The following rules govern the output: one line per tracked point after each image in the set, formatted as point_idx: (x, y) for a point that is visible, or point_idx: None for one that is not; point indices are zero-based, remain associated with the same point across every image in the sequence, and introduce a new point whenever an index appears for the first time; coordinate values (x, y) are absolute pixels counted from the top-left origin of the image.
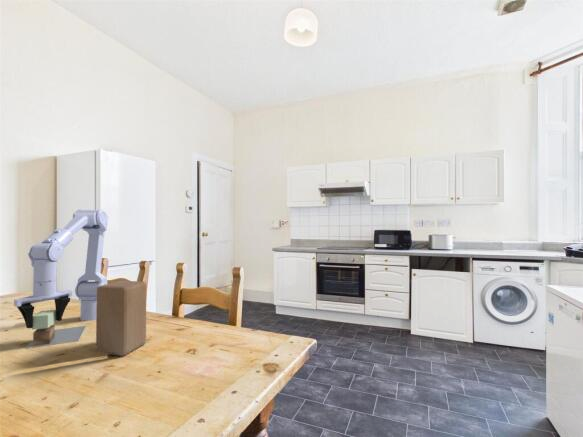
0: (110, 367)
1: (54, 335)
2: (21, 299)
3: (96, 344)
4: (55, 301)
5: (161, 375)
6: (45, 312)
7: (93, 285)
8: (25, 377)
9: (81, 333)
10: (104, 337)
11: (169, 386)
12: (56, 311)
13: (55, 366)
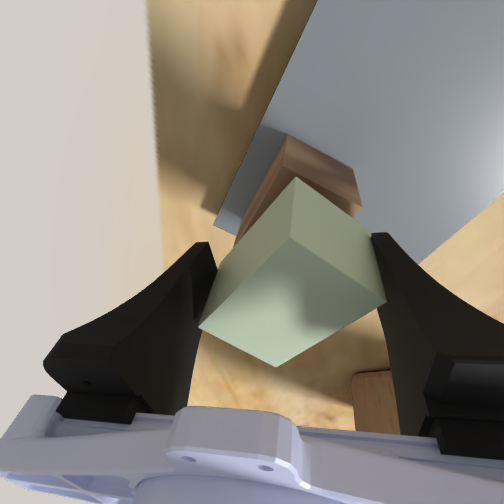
0: (324, 420)
1: (353, 172)
2: (54, 494)
3: (353, 401)
4: (420, 350)
5: None
6: (290, 308)
7: None
8: (200, 356)
9: (456, 228)
10: None
11: None
12: (388, 281)
13: (257, 358)
